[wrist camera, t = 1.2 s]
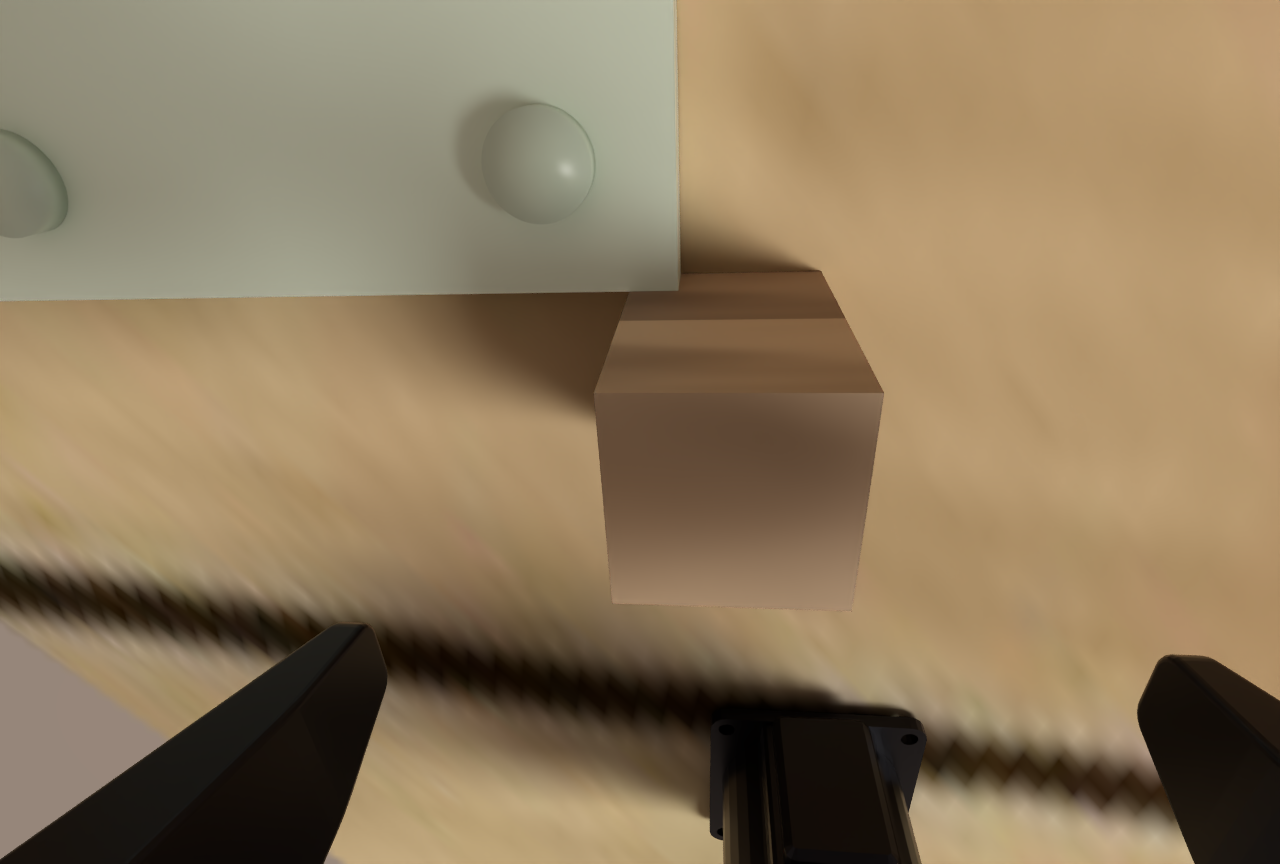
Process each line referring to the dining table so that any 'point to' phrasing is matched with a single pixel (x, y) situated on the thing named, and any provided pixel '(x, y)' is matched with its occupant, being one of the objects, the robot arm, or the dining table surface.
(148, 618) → the dining table surface
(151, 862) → the robot arm
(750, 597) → the brown rectangular block
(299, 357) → the dining table surface
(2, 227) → the baseplate
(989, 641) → the dining table surface
